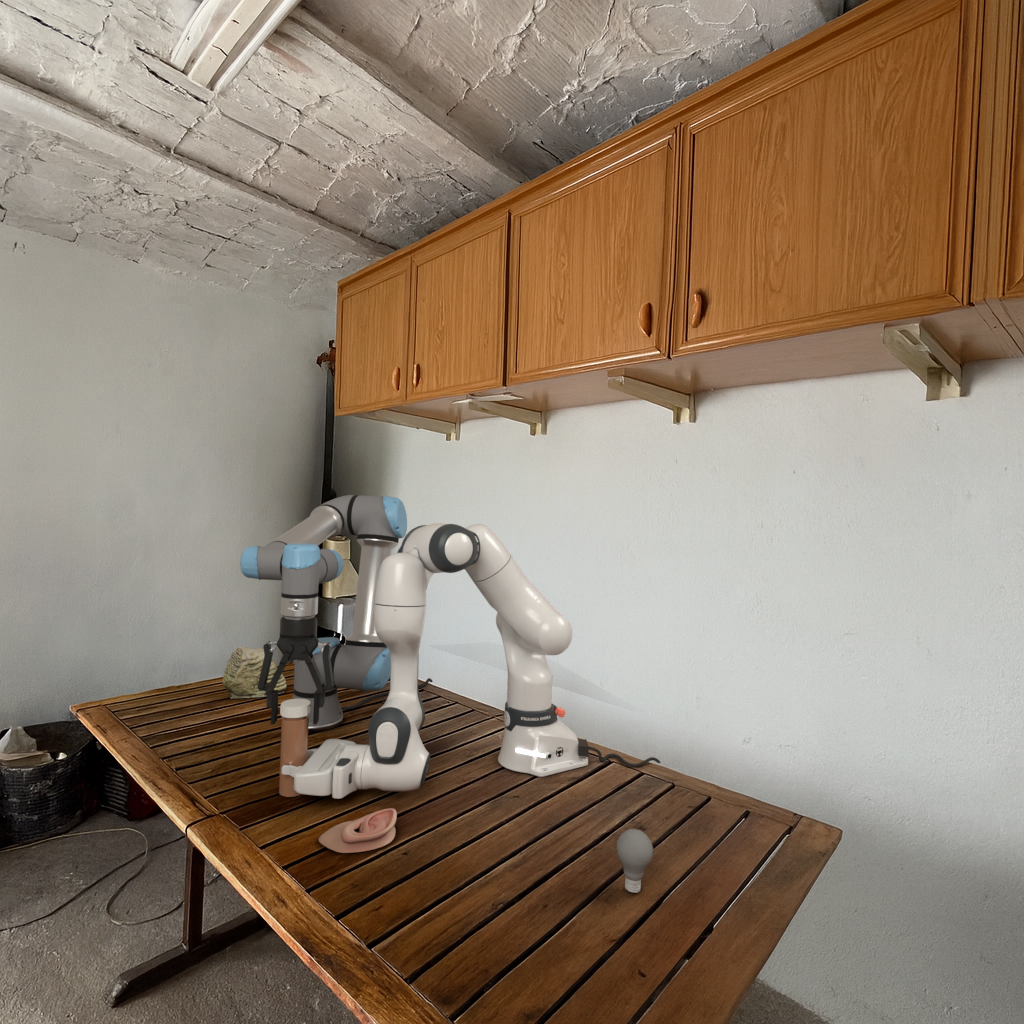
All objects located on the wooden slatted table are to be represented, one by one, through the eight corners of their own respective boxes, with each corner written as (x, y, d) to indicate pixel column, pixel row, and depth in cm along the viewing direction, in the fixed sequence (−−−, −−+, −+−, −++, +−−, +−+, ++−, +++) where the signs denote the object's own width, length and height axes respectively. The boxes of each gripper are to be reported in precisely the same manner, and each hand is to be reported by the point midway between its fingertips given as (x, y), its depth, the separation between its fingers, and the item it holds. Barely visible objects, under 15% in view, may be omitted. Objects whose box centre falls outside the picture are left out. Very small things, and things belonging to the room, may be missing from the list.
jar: (301, 783, 140) (304, 702, 139) (309, 793, 135) (312, 709, 135) (275, 788, 136) (278, 706, 136) (282, 799, 132) (286, 713, 132)
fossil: (218, 695, 195) (220, 647, 195) (278, 685, 208) (279, 640, 207) (228, 703, 189) (230, 653, 188) (289, 692, 201) (290, 645, 201)
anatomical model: (310, 826, 114) (340, 797, 125) (309, 848, 114) (339, 817, 125) (379, 837, 111) (403, 806, 122) (378, 859, 111) (403, 827, 123)
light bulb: (610, 879, 108) (613, 822, 108) (644, 879, 109) (647, 822, 109) (619, 902, 102) (622, 840, 102) (655, 901, 103) (658, 840, 103)
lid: (301, 706, 140) (302, 696, 140) (315, 714, 136) (316, 703, 135) (275, 712, 135) (275, 702, 135) (288, 720, 131) (289, 709, 131)
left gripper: (242, 618, 130) (238, 728, 130) (346, 620, 133) (342, 728, 133) (252, 612, 137) (249, 716, 138) (351, 614, 140) (347, 716, 141)
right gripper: (367, 733, 145) (307, 730, 146) (338, 771, 125) (269, 767, 126) (365, 760, 145) (306, 757, 146) (337, 803, 125) (268, 798, 126)
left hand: (295, 722), depth 136 cm, fingers open, 8 cm apart
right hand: (289, 762), depth 136 cm, fingers closed on jar, 5 cm apart
